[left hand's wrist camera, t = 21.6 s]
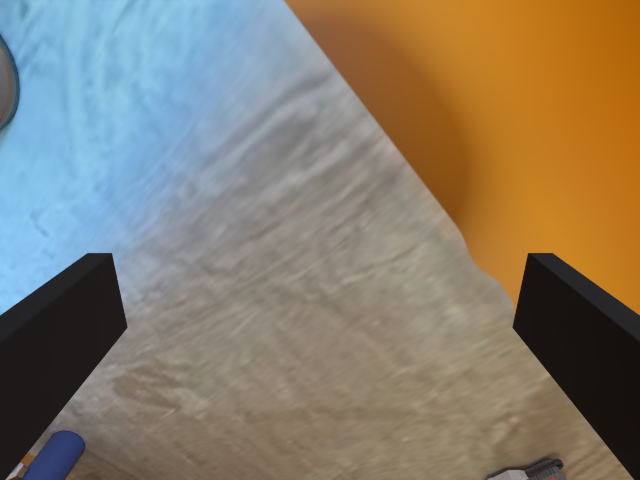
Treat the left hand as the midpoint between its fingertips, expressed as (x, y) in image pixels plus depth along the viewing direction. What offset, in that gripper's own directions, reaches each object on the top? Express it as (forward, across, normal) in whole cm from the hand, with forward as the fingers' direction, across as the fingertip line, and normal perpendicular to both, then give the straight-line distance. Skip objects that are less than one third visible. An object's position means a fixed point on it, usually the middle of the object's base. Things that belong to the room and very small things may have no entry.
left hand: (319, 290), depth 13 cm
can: (+37, -41, -48) cm, 74 cm away
